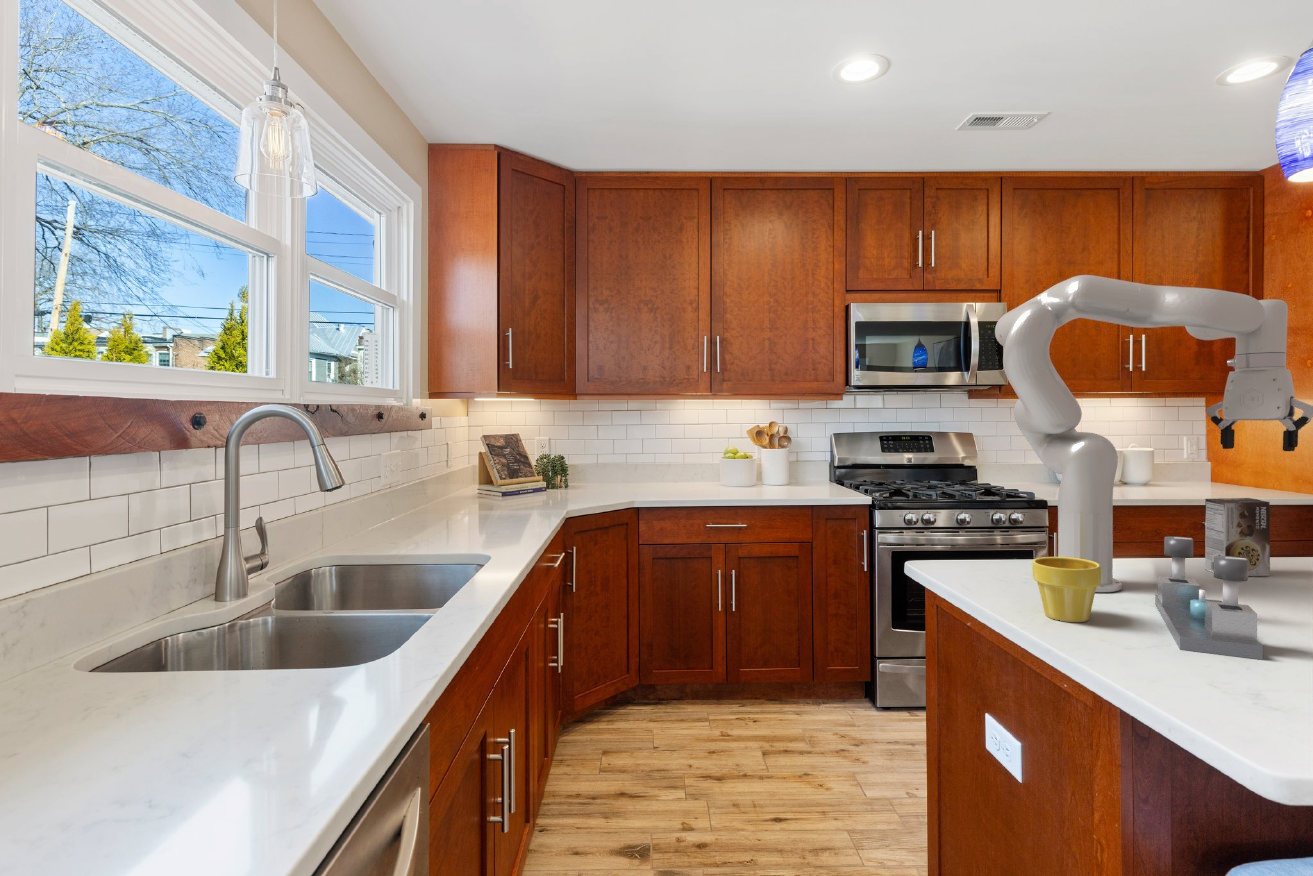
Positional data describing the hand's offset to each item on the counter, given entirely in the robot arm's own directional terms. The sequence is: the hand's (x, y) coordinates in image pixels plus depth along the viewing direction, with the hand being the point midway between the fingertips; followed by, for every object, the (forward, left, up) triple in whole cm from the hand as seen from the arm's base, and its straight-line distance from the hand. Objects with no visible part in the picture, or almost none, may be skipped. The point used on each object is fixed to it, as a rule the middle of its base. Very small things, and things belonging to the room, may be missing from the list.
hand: (1257, 449), depth 134 cm
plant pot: (-33, -38, -28) cm, 58 cm away
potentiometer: (-14, -36, -26) cm, 46 cm away
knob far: (-16, -28, -21) cm, 39 cm away
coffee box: (-1, +13, -28) cm, 31 cm away
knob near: (-12, -44, -21) cm, 50 cm away
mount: (-14, -36, -28) cm, 48 cm away
